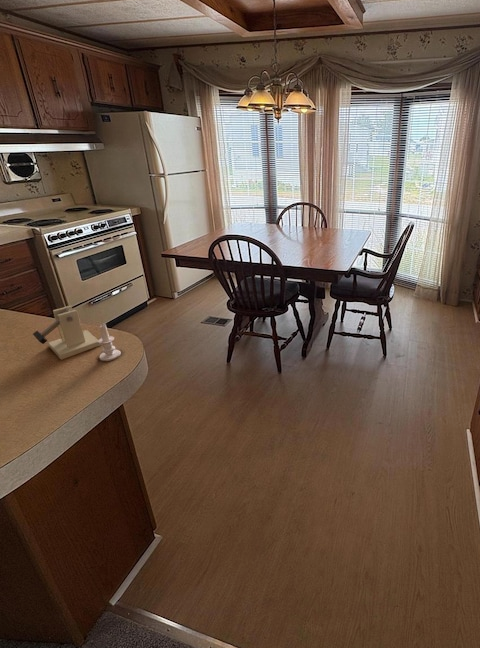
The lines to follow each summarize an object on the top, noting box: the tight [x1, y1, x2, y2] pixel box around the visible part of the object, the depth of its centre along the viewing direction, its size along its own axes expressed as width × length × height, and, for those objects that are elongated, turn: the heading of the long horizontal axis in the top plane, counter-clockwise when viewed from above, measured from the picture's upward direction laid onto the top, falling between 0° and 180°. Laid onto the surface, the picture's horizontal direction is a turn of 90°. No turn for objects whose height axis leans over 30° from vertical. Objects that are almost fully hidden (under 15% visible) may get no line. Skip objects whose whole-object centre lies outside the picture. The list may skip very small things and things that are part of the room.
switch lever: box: [32, 309, 69, 345], centre depth 95 cm, size 10×6×2 cm, turn 141°
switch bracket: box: [47, 305, 101, 360], centre depth 99 cm, size 10×10×12 cm
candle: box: [98, 323, 122, 362], centre depth 95 cm, size 5×5×10 cm
